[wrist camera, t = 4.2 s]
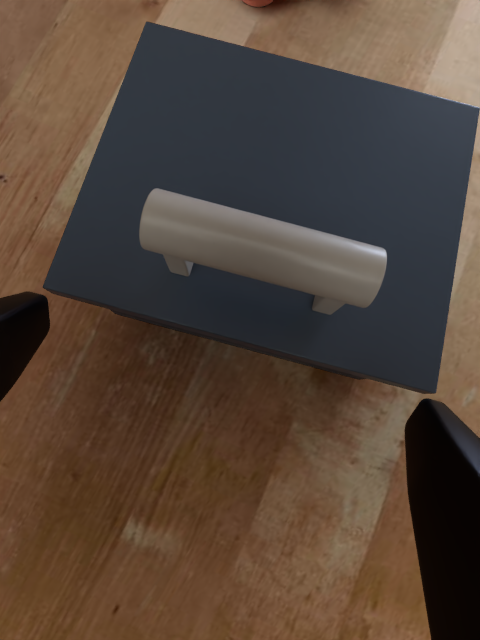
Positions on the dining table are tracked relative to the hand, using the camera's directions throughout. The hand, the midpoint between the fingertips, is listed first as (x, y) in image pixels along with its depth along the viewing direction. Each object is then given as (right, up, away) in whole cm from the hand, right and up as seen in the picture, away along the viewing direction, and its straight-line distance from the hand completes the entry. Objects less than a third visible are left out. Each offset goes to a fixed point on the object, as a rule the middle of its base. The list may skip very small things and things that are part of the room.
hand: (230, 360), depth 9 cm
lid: (+2, +6, +6) cm, 8 cm away
